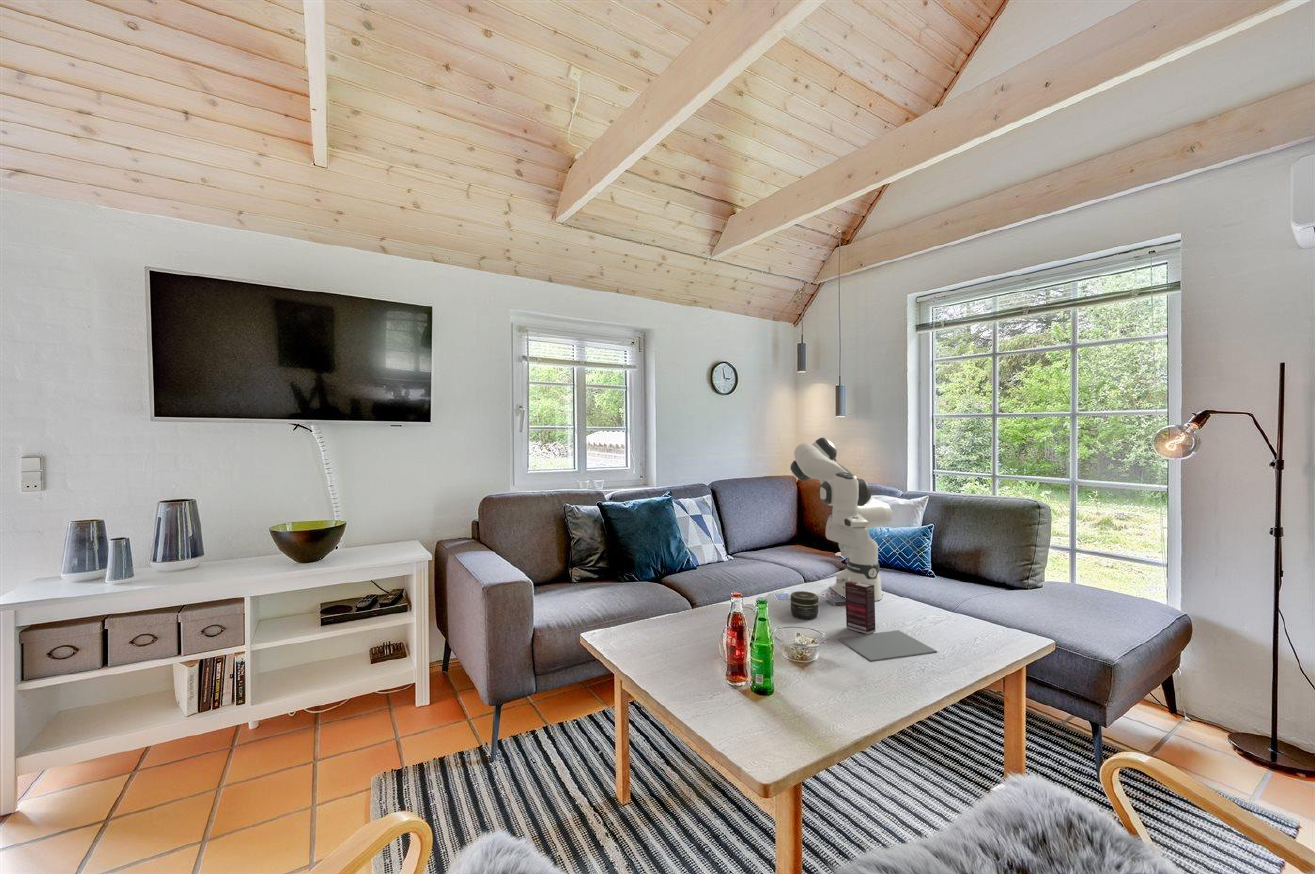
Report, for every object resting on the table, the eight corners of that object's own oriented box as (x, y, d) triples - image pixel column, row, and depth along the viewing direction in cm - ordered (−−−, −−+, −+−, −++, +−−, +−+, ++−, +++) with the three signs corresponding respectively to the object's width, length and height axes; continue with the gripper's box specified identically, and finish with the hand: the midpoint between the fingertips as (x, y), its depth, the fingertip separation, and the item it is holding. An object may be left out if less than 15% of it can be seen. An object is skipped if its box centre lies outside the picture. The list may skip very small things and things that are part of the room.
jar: (821, 620, 189) (821, 599, 188) (794, 620, 189) (794, 599, 189) (813, 610, 199) (814, 590, 198) (787, 610, 199) (787, 590, 199)
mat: (836, 638, 172) (837, 637, 172) (898, 631, 178) (898, 630, 178) (870, 661, 156) (870, 660, 156) (937, 652, 162) (937, 650, 162)
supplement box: (876, 631, 177) (875, 584, 177) (868, 635, 174) (866, 587, 175) (853, 625, 184) (852, 579, 184) (845, 628, 181) (844, 582, 182)
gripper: (821, 514, 196) (821, 550, 196) (855, 523, 177) (855, 564, 177) (836, 513, 198) (835, 549, 198) (871, 522, 178) (871, 562, 178)
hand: (845, 556), depth 187 cm, fingers closed
